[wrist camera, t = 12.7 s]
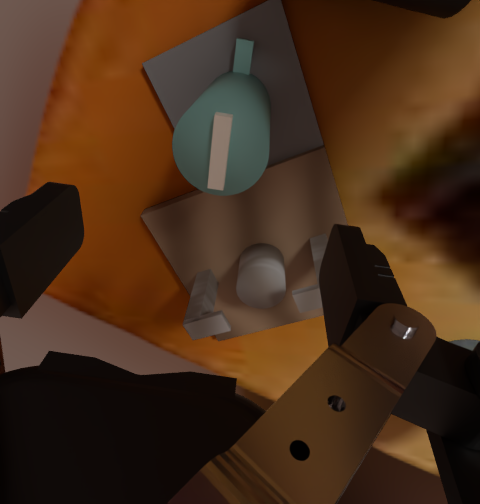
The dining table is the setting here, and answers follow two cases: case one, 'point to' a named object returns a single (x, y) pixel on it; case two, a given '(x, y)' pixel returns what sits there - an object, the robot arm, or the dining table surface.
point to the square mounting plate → (252, 247)
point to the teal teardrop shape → (226, 131)
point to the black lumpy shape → (430, 6)
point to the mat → (262, 66)
